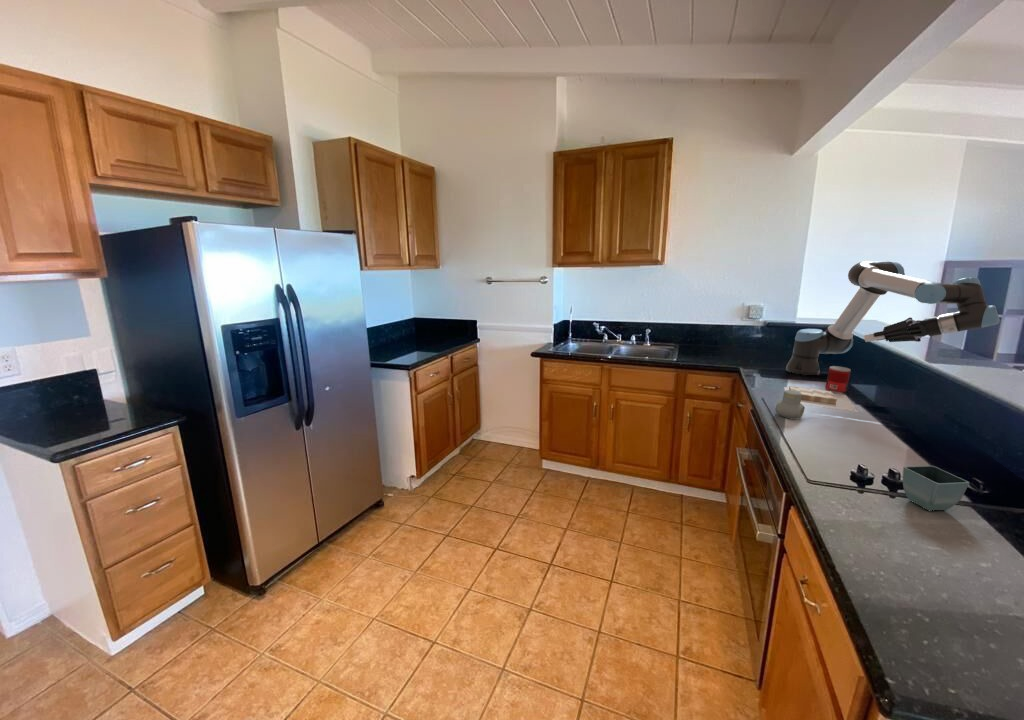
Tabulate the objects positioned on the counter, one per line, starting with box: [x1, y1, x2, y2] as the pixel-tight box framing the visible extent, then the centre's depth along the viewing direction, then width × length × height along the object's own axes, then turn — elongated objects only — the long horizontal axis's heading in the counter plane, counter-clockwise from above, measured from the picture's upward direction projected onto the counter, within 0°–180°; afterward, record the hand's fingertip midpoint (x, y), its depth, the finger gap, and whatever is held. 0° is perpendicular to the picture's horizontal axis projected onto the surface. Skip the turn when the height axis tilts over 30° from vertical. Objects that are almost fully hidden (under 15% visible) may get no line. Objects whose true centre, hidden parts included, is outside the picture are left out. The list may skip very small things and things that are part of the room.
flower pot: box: [902, 465, 970, 512], centre depth 108 cm, size 9×9×9 cm
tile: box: [788, 385, 837, 405], centre depth 189 cm, size 12×2×16 cm
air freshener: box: [774, 390, 805, 420], centre depth 167 cm, size 11×8×10 cm
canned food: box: [825, 365, 851, 393], centre depth 200 cm, size 8×8×11 cm
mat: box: [783, 386, 859, 413], centre depth 188 cm, size 24×24×1 cm
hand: (865, 338), depth 186 cm, fingers closed
